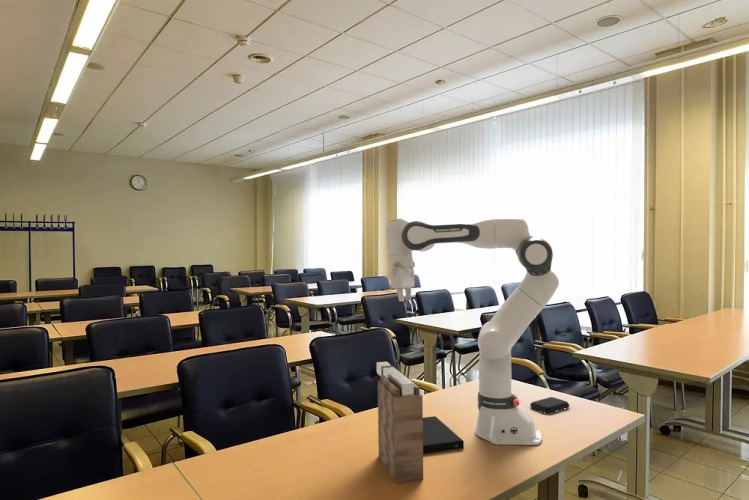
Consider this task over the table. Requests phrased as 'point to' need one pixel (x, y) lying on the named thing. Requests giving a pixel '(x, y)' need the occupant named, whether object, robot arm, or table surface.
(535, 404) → the black microchip
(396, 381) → the bar
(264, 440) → the table surface
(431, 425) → the external hard drive
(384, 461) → the block
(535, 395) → the table surface
